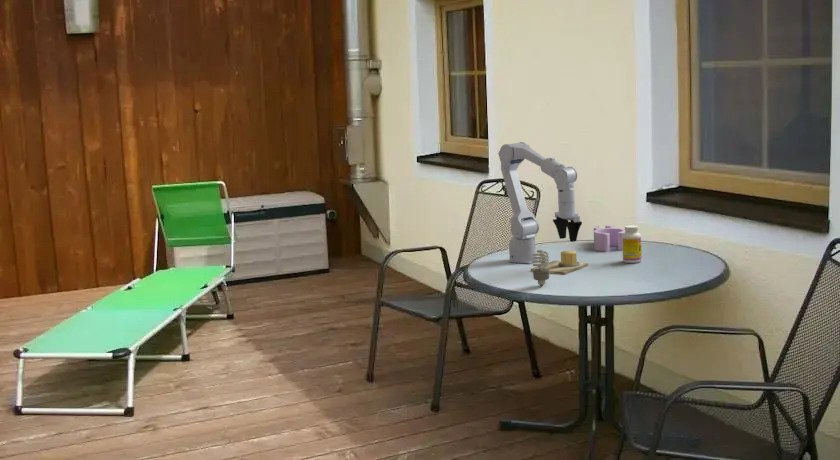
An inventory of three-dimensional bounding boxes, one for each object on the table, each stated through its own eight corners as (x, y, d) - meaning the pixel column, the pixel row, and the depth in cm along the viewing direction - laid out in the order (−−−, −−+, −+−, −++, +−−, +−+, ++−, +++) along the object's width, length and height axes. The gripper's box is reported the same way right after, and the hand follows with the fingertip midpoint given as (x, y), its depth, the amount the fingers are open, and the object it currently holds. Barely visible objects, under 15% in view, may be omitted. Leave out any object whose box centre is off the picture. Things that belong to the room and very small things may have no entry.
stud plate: (530, 271, 341) (530, 261, 340) (554, 262, 353) (554, 253, 352) (565, 274, 332) (564, 264, 331) (588, 265, 344) (588, 256, 343)
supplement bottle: (641, 263, 342) (641, 227, 340) (622, 263, 344) (621, 228, 341) (641, 259, 349) (640, 224, 347) (622, 260, 350) (621, 225, 348)
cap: (576, 264, 340) (576, 253, 339) (561, 265, 341) (560, 253, 340) (576, 261, 345) (576, 250, 345) (561, 261, 346) (561, 251, 346)
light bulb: (531, 284, 320) (530, 249, 318) (548, 283, 320) (546, 247, 318) (535, 288, 314) (533, 252, 312) (552, 287, 315) (550, 250, 313)
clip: (587, 244, 386) (586, 226, 385) (617, 241, 387) (617, 224, 386) (599, 253, 366) (599, 235, 365) (631, 250, 367) (631, 232, 366)
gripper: (586, 202, 334) (588, 241, 336) (566, 198, 348) (567, 235, 350) (568, 204, 332) (570, 243, 334) (549, 200, 345) (550, 238, 348)
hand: (567, 239), depth 342 cm, fingers open, 7 cm apart
